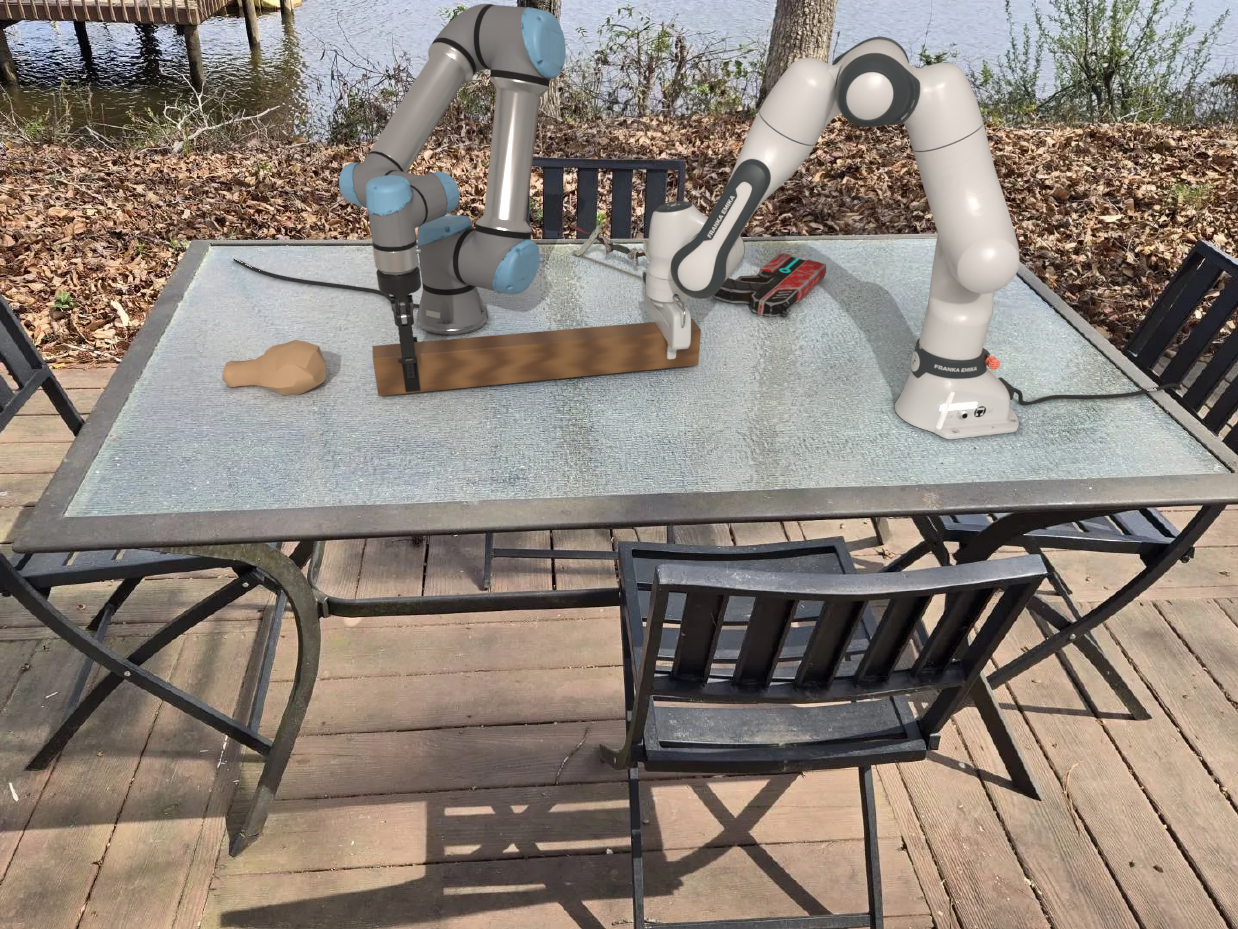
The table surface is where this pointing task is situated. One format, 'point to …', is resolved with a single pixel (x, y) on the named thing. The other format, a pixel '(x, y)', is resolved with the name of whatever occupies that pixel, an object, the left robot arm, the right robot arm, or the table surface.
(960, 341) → the right robot arm
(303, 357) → the squash
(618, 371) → the post
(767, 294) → the gun
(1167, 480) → the table surface
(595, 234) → the bow
